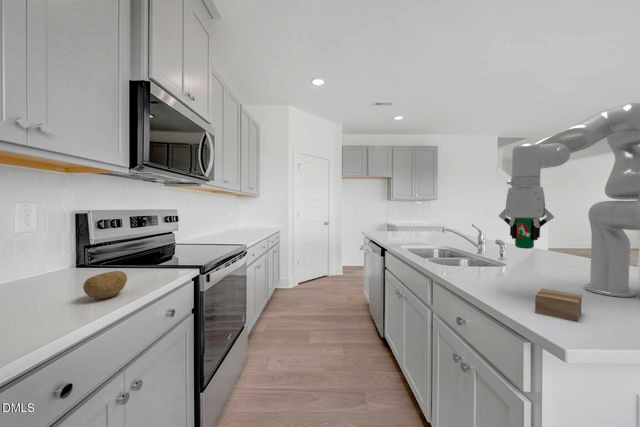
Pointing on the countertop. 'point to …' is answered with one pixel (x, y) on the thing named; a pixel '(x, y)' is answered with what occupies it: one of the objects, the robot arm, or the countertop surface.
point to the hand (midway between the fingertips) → (524, 238)
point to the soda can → (524, 233)
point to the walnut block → (558, 304)
